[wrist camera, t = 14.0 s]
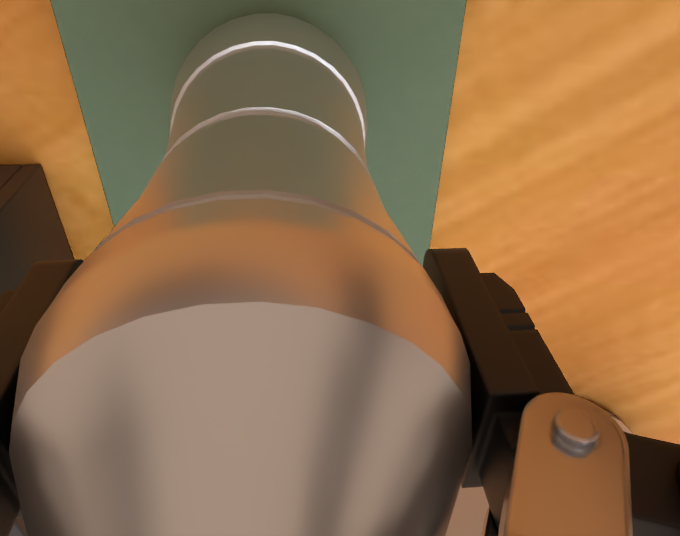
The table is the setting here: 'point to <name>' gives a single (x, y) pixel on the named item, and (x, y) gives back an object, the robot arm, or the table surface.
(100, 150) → the mat
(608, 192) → the table surface
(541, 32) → the table surface
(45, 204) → the tote
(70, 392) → the plastic bottle
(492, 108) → the table surface
